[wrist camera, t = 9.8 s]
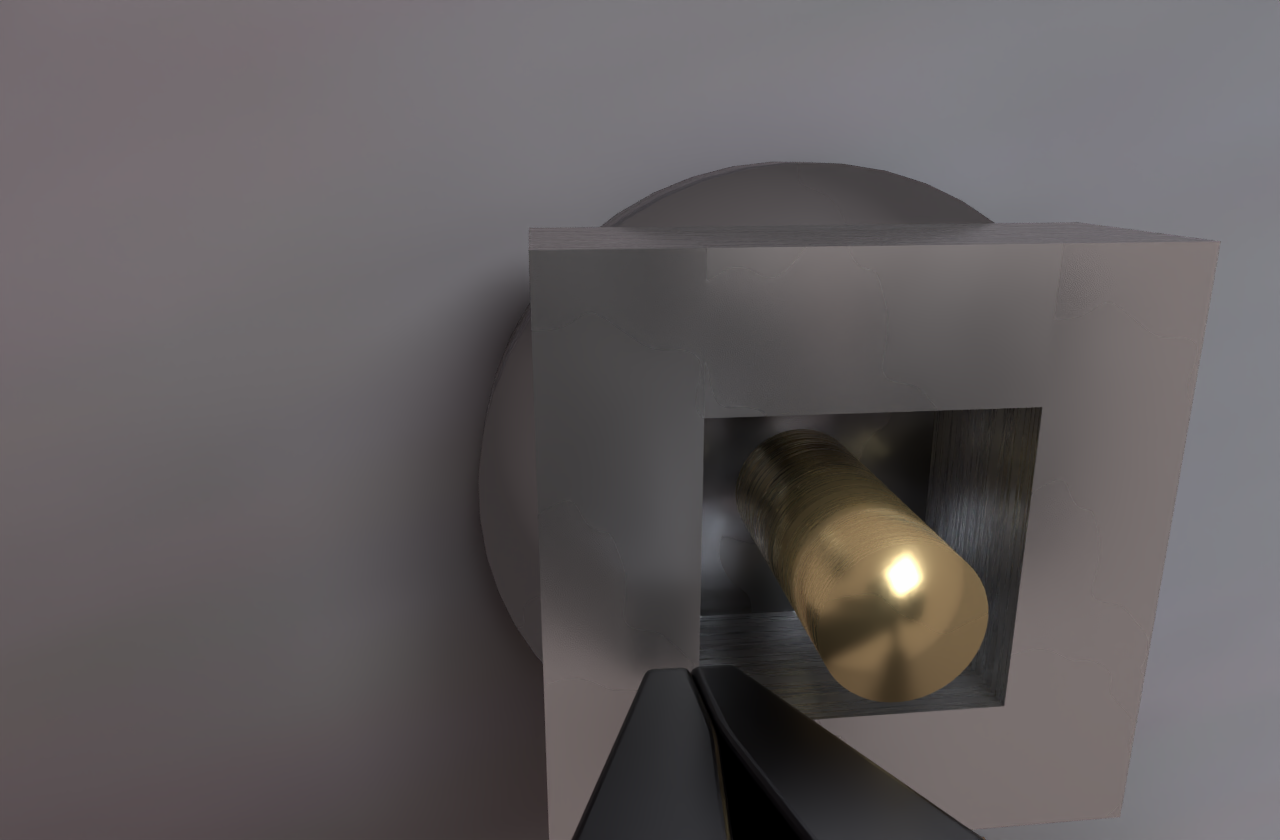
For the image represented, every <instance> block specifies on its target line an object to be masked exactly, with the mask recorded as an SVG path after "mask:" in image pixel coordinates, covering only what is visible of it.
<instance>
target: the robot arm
mask: <svg viewBox="0 0 1280 840" xmlns="http://www.w3.org/2000/svg"><path fill="white" fill-rule="evenodd" d="M571 840H985V839H983V838H982V837H981V836H979V835H978V834H976V833H975V832H973V831H972V830H971V829H969V828H968V827H966V826H965V825H963V824H962V823H960V822H959V821H958V820H956V819H955V818H953V817H952V816H950V815H949V814H947V813H946V812H945V811H943V810H942V809H940V808H939V807H937V806H936V805H935V804H933V803H932V802H930V801H929V800H927V799H926V798H924V797H923V796H922V795H920V794H919V793H917V792H916V791H914V790H913V789H911V788H910V787H909V786H907V785H906V784H904V783H903V782H901V781H900V780H899V779H897V778H896V777H894V776H893V775H891V774H890V773H888V772H887V771H886V770H884V769H883V768H881V767H880V766H878V765H877V764H875V763H874V762H873V761H871V760H870V759H868V758H867V757H865V756H864V755H863V754H861V753H860V752H858V751H857V750H855V749H854V748H852V747H851V746H850V745H848V744H847V743H845V742H844V741H842V740H841V739H839V738H838V737H837V736H835V735H834V734H832V733H831V732H829V731H828V730H827V729H825V728H824V727H822V726H821V725H819V724H818V723H816V722H815V721H814V720H812V719H811V718H809V717H808V716H806V715H805V714H803V713H802V712H801V711H799V710H798V709H796V708H795V707H793V706H792V705H791V704H789V703H788V702H786V701H785V700H783V699H782V698H780V697H779V696H778V695H776V694H775V693H773V692H772V691H770V690H769V689H767V688H766V687H765V686H763V685H762V684H760V683H759V682H757V681H756V680H755V679H753V678H752V677H750V676H749V675H747V674H746V673H744V672H743V671H742V670H740V669H739V668H737V667H735V666H733V665H728V664H727V665H712V666H698V667H695V668H694V669H692V671H691V673H690V672H689V670H688V669H686V668H682V667H681V668H665V669H651V670H648V671H647V672H646V673H645V675H644V676H643V679H642V681H641V683H640V685H639V688H638V690H637V692H636V694H635V697H634V699H633V701H632V704H631V706H630V708H629V710H628V713H627V715H626V717H625V719H624V722H623V724H622V726H621V728H620V731H619V733H618V735H617V737H616V740H615V742H614V744H613V746H612V749H611V751H610V753H609V756H608V758H607V760H606V762H605V765H604V767H603V769H602V771H601V774H600V776H599V778H598V780H597V783H596V785H595V787H594V789H593V792H592V794H591V796H590V799H589V801H588V803H587V805H586V808H585V810H584V812H583V814H582V817H581V819H580V821H579V823H578V826H577V828H576V830H575V832H574V835H573V837H572V839H571Z"/></svg>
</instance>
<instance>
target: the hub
mask: <svg viewBox="0 0 1280 840" xmlns="http://www.w3.org/2000/svg"><path fill="white" fill-rule="evenodd" d="M972 223H994V222H992V221H991V220H989V219H988V218H986V217H985V216H984V215H982V214H981V213H979V212H978V211H976V210H975V209H973V208H972V207H970V206H969V205H967V204H966V203H965V202H963V201H961V200H959V199H957V198H955V197H953V196H951V195H949V194H947V193H944V192H942V191H940V190H938V189H936V188H934V187H932V186H930V185H928V184H926V183H923V182H920V181H916V180H913V179H910V178H907V177H904V176H900V175H897V174H894V173H891V172H888V171H884V170H877V169H871V168H865V167H859V166H853V165H846V164H835V163H813V162H766V163H757V164H749V165H741V166H732V167H728V168H724V169H721V170H717V171H713V172H709V173H705V174H702V175H698V176H694V177H691V178H688V179H686V180H683V181H681V182H679V183H676V184H674V185H671V186H669V187H666V188H664V189H662V190H659V191H657V192H654V193H652V194H651V195H649V196H647V197H645V198H644V199H642V200H640V201H639V202H637V203H635V204H633V205H632V206H630V207H628V208H626V209H625V210H623V211H621V212H619V213H618V214H616V215H615V216H614V217H613V218H611V219H610V220H609V221H607V222H606V223H605V224H603V225H602V226H601V227H676V226H775V225H874V224H972ZM934 412H935V411H911V412H881V413H851V414H821V415H791V416H761V417H731V418H704V451H703V502H702V553H701V604H700V615H717V614H735V613H752V612H770V611H788V610H794V611H795V613H796V615H797V616H798V618H799V620H800V622H801V623H802V625H803V627H804V629H805V630H806V632H807V634H808V636H809V637H810V639H811V641H812V643H813V644H814V646H815V648H816V650H817V651H818V653H819V655H820V657H821V658H822V660H823V662H824V664H825V665H826V667H827V669H828V671H829V672H830V673H831V675H832V676H833V677H834V679H835V680H836V681H837V682H838V683H839V684H841V685H842V686H843V687H844V688H846V689H847V690H849V691H850V692H852V693H854V694H856V695H858V696H860V697H863V698H866V699H869V700H873V701H878V702H904V701H910V700H914V699H918V698H921V697H924V696H926V695H929V694H931V693H933V692H935V691H937V690H939V689H941V688H943V687H944V686H946V685H947V684H948V683H950V682H951V681H953V680H954V679H955V678H956V677H957V676H958V675H960V674H961V673H962V671H963V670H964V669H965V668H966V667H967V666H968V665H969V664H970V662H971V661H972V659H973V658H974V657H975V655H976V653H977V651H978V650H979V648H980V646H981V643H982V641H983V639H984V636H985V632H986V629H987V623H988V601H987V595H986V592H985V589H984V586H983V584H982V582H981V580H980V578H979V577H978V575H977V574H976V572H975V571H974V569H973V568H972V567H971V566H970V565H969V564H968V563H967V562H966V561H965V560H964V559H963V558H962V557H961V556H959V555H958V554H957V553H956V552H955V551H954V550H953V549H952V548H951V547H950V546H949V545H948V544H947V543H946V542H945V541H944V540H943V539H942V538H940V537H939V536H938V535H937V534H936V533H935V532H934V531H933V530H932V529H931V528H930V527H929V526H928V525H927V524H926V523H925V522H924V519H925V509H926V498H927V487H928V477H929V466H930V455H931V444H932V434H933V423H934ZM478 479H479V510H480V521H481V527H482V533H483V538H484V544H485V550H486V555H487V558H488V561H489V564H490V568H491V571H492V574H493V577H494V580H495V583H496V586H497V589H498V592H499V594H500V596H501V598H502V600H503V602H504V604H505V606H506V608H507V610H508V612H509V614H510V616H511V618H512V620H513V622H514V624H515V626H516V627H517V629H518V630H519V632H520V633H521V635H522V636H523V638H524V639H525V640H526V642H527V643H528V645H529V646H530V648H531V649H532V651H533V652H534V654H535V655H536V656H537V657H538V659H539V660H540V661H541V662H542V663H543V648H542V619H541V590H540V561H539V532H538V504H537V475H536V446H535V417H534V388H533V359H532V330H531V302H530V303H529V305H528V307H527V309H526V310H525V312H524V314H523V316H522V317H521V319H520V321H519V323H518V324H517V326H516V328H515V330H514V331H513V333H512V335H511V337H510V340H509V342H508V345H507V347H506V350H505V352H504V355H503V357H502V360H501V362H500V365H499V367H498V370H497V372H496V376H495V380H494V384H493V388H492V392H491V396H490V400H489V404H488V408H487V414H486V420H485V426H484V432H483V439H482V448H481V458H480V467H479V476H478Z"/></svg>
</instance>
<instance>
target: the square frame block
mask: <svg viewBox="0 0 1280 840" xmlns="http://www.w3.org/2000/svg"><path fill="white" fill-rule="evenodd" d="M1220 243H1221V241H1214V240H1207V239H1199V238H1192V237H1184V236H1177V235H1169V234H1162V233H1154V232H1147V231H1139V230H1132V229H1124V228H1117V227H1109V226H1102V225H1094V224H1087V223H1079V222H1071V223H972V224H874V225H775V226H676V227H578V228H529V272H530V301H531V330H532V359H533V388H534V417H535V446H536V475H537V504H538V532H539V561H540V590H541V619H542V648H543V677H544V706H545V735H546V763H547V792H548V821H549V840H571V839H572V837H573V835H574V832H575V830H576V828H577V826H578V823H579V821H580V819H581V817H582V814H583V812H584V810H585V808H586V805H587V803H588V801H589V799H590V796H591V794H592V792H593V789H594V787H595V785H596V783H597V780H598V778H599V776H600V774H601V771H602V769H603V767H604V765H605V762H606V760H607V758H608V756H609V753H610V751H611V749H612V746H613V744H614V742H615V740H616V737H617V735H618V733H619V731H620V728H621V726H622V724H623V722H624V719H625V717H626V715H627V713H628V710H629V708H630V706H631V704H632V701H633V699H634V697H635V694H636V692H637V690H638V688H639V685H640V683H641V681H642V679H643V676H644V675H645V673H646V672H647V671H648V670H651V669H665V668H681V667H682V668H686V669H688V670H689V672H690V673H691V671H692V669H694V668H695V667H698V666H712V665H727V664H728V665H733V666H735V667H737V668H739V669H740V670H742V671H743V672H744V673H746V674H747V675H749V676H750V677H752V678H753V679H755V680H756V681H757V682H759V683H760V684H762V685H763V686H765V687H766V688H767V689H769V690H770V691H772V692H773V693H775V694H776V695H778V696H779V697H780V698H782V699H783V700H785V701H786V702H788V703H789V704H791V705H792V706H793V707H795V708H796V709H798V710H799V711H801V712H802V713H803V714H805V715H806V716H808V717H809V718H811V719H812V720H814V721H815V722H816V723H818V724H819V725H821V726H822V727H824V728H825V729H827V730H828V731H829V732H831V733H832V734H834V735H835V736H837V737H838V738H839V739H841V740H842V741H844V742H845V743H847V744H848V745H850V746H851V747H852V748H854V749H855V750H857V751H858V752H860V753H861V754H863V755H864V756H865V757H867V758H868V759H870V760H871V761H873V762H874V763H875V764H877V765H878V766H880V767H881V768H883V769H884V770H886V771H887V772H888V773H890V774H891V775H893V776H894V777H896V778H897V779H899V780H900V781H901V782H903V783H904V784H906V785H907V786H909V787H910V788H911V789H913V790H914V791H916V792H917V793H919V794H920V795H922V796H923V797H924V798H926V799H927V800H929V801H930V802H932V803H933V804H935V805H936V806H937V807H939V808H940V809H942V810H943V811H945V812H946V813H947V814H949V815H950V816H952V817H953V818H955V819H956V820H958V821H959V822H960V823H962V824H963V825H965V826H966V827H968V828H969V829H971V830H973V829H985V828H996V827H1008V826H1020V825H1031V824H1043V823H1055V822H1067V821H1078V820H1090V819H1102V818H1114V817H1120V814H1121V808H1122V802H1123V797H1124V791H1125V785H1126V780H1127V774H1128V768H1129V762H1130V757H1131V751H1132V745H1133V740H1134V734H1135V728H1136V722H1137V717H1138V711H1139V705H1140V700H1141V694H1142V688H1143V682H1144V677H1145V671H1146V665H1147V660H1148V654H1149V648H1150V642H1151V637H1152V631H1153V625H1154V620H1155V614H1156V608H1157V602H1158V597H1159V591H1160V585H1161V580H1162V574H1163V568H1164V562H1165V557H1166V551H1167V545H1168V540H1169V534H1170V528H1171V522H1172V517H1173V511H1174V505H1175V500H1176V494H1177V488H1178V483H1179V477H1180V471H1181V465H1182V460H1183V454H1184V448H1185V443H1186V437H1187V431H1188V425H1189V420H1190V414H1191V408H1192V403H1193V397H1194V391H1195V385H1196V380H1197V374H1198V368H1199V363H1200V357H1201V351H1202V345H1203V340H1204V334H1205V328H1206V323H1207V317H1208V311H1209V305H1210V300H1211V294H1212V288H1213V283H1214V277H1215V271H1216V265H1217V260H1218V254H1219V248H1220ZM911 411H935V412H934V423H933V434H932V444H931V455H930V466H929V477H928V487H927V498H926V509H925V519H924V522H925V523H926V524H927V525H928V526H929V527H930V528H931V529H932V530H933V531H934V532H935V533H936V534H937V535H938V536H939V537H940V538H942V539H943V540H944V541H945V542H946V543H947V544H948V545H949V546H950V547H951V548H952V549H953V550H954V551H955V552H956V553H957V554H958V555H959V556H961V557H962V558H963V559H964V560H965V561H966V562H967V563H968V564H969V565H970V566H971V567H972V568H973V569H974V571H975V572H976V574H977V575H978V577H979V578H980V580H981V582H982V584H983V586H984V589H985V592H986V595H987V601H988V623H987V629H986V632H985V636H984V639H983V641H982V643H981V646H980V648H979V650H978V651H977V653H976V655H975V657H974V658H973V659H972V661H971V662H970V664H969V665H968V666H967V667H966V668H965V669H964V670H963V671H962V673H961V674H960V675H958V676H957V677H956V678H955V679H954V680H953V681H951V682H950V683H948V684H947V685H946V686H944V687H943V688H941V689H939V690H937V691H935V692H933V693H931V694H929V695H926V696H924V697H921V698H918V699H914V700H910V701H904V702H878V701H873V700H869V699H866V698H863V697H860V696H858V695H856V694H854V693H852V692H850V691H849V690H847V689H846V688H844V687H843V686H842V685H841V684H839V683H838V682H837V681H836V680H835V679H834V677H833V676H832V675H831V673H830V672H829V671H828V669H827V667H826V665H825V664H824V662H823V660H822V658H821V657H820V655H819V653H818V651H817V650H816V648H815V646H814V644H813V643H812V641H811V639H810V637H809V636H808V634H807V632H806V630H805V629H804V627H803V625H802V623H801V622H800V620H799V618H798V616H797V615H796V613H795V611H794V610H788V611H770V612H752V613H735V614H717V615H700V604H701V553H702V502H703V451H704V418H731V417H761V416H791V415H821V414H851V413H881V412H911Z"/></svg>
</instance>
